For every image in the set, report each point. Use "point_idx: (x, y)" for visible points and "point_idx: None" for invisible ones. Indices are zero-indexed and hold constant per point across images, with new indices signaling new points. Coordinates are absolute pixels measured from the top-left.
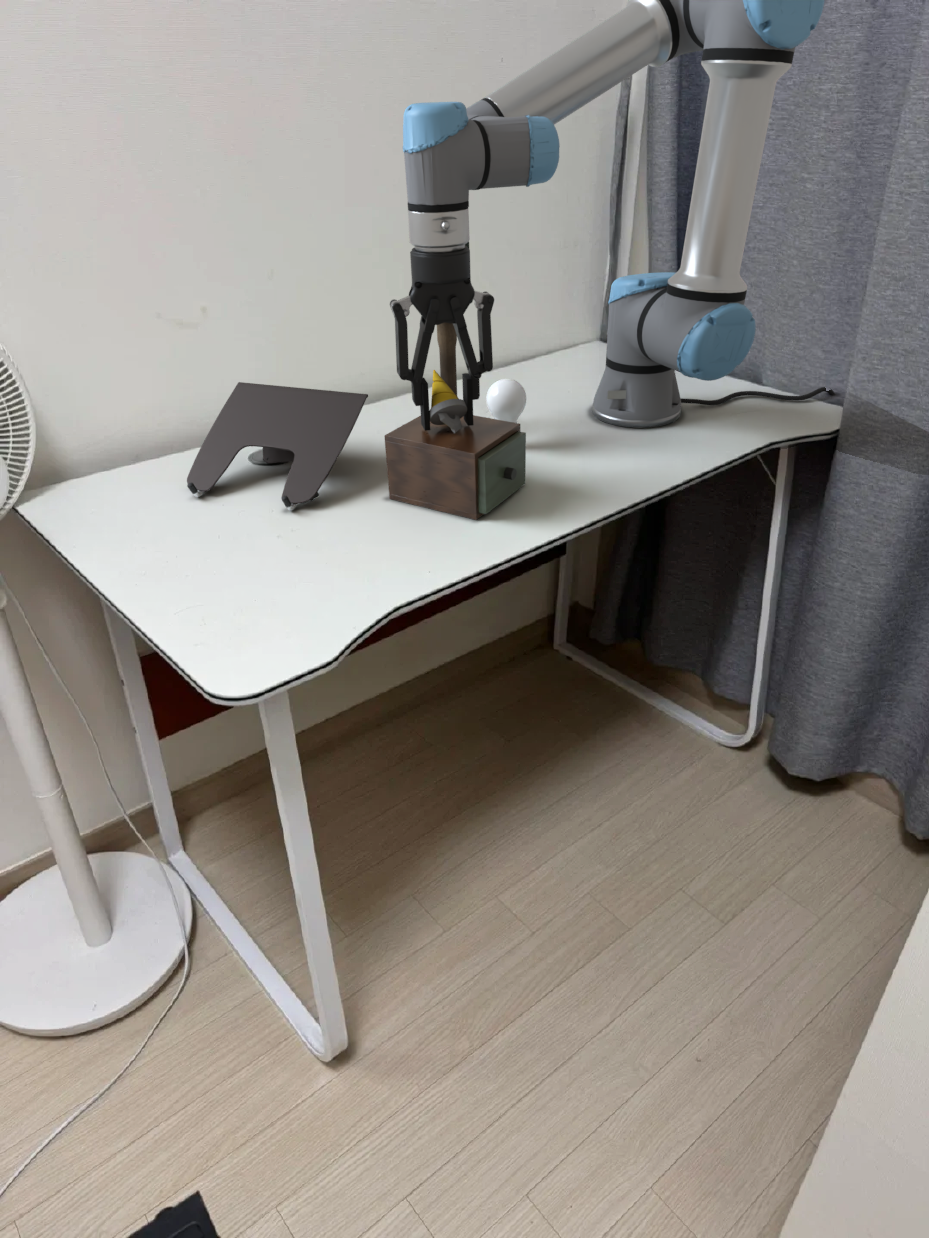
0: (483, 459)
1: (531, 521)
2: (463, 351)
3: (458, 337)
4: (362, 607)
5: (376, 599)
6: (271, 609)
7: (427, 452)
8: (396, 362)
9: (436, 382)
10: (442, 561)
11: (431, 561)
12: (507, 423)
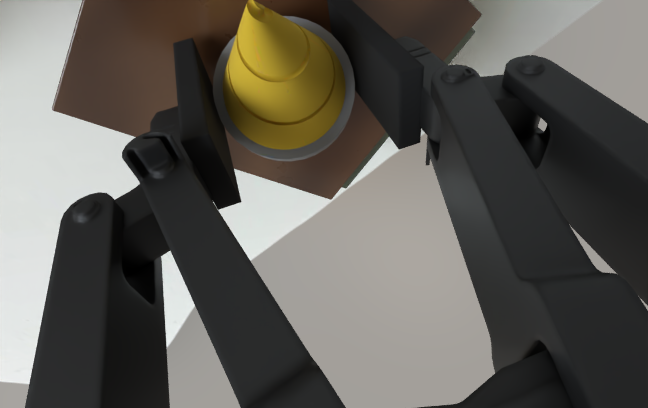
0: (343, 185)
1: None
2: (457, 200)
3: (484, 250)
4: (171, 301)
5: (182, 290)
6: None
7: None
8: (54, 258)
9: (263, 84)
10: (247, 223)
11: (232, 225)
12: (450, 10)
